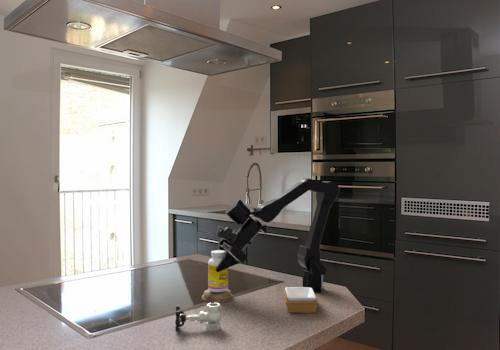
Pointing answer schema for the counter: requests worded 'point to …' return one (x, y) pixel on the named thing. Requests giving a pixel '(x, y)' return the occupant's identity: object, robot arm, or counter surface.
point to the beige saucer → (217, 296)
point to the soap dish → (300, 299)
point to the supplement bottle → (217, 273)
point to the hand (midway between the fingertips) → (214, 268)
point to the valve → (202, 317)
